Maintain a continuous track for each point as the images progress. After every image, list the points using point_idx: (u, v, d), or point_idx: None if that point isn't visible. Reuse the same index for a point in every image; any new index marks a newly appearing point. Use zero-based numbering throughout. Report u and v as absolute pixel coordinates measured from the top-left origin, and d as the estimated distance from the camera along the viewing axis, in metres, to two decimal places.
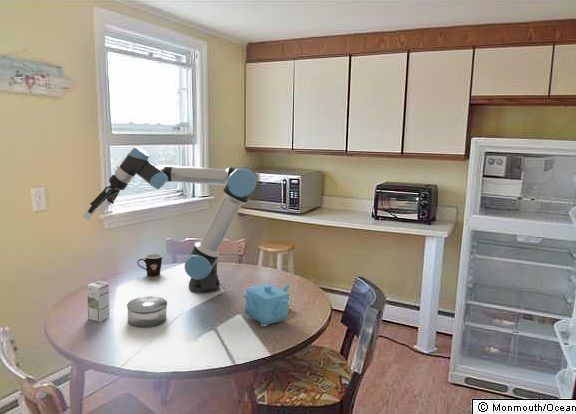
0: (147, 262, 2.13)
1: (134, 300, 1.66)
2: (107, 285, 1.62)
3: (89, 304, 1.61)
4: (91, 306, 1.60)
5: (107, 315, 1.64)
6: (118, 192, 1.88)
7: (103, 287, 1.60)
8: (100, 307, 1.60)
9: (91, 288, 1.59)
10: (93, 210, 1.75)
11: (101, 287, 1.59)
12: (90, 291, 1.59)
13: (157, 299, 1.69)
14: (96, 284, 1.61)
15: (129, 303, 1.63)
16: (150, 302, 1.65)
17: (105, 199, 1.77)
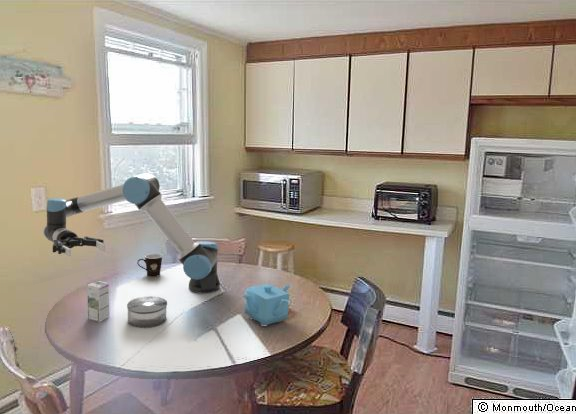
0: (147, 262, 2.13)
1: (134, 300, 1.66)
2: (107, 285, 1.62)
3: (89, 304, 1.61)
4: (91, 306, 1.60)
5: (107, 315, 1.64)
6: (89, 238, 1.79)
7: (103, 287, 1.60)
8: (100, 307, 1.60)
9: (91, 288, 1.59)
10: (62, 248, 1.63)
11: (101, 287, 1.59)
12: (90, 291, 1.59)
13: (157, 299, 1.69)
14: (96, 284, 1.61)
15: (129, 303, 1.63)
16: (150, 302, 1.65)
17: (64, 242, 1.69)
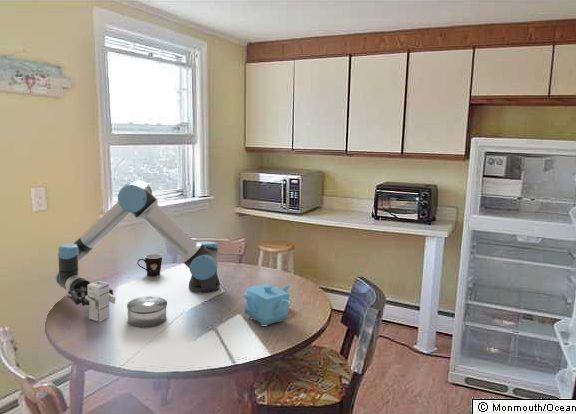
0: (147, 262, 2.13)
1: (134, 300, 1.66)
2: (107, 285, 1.62)
3: None
4: None
5: (107, 315, 1.64)
6: None
7: (103, 287, 1.60)
8: (100, 307, 1.60)
9: (91, 288, 1.59)
10: (86, 300, 1.59)
11: (101, 287, 1.59)
12: (90, 291, 1.60)
13: (157, 299, 1.69)
14: (96, 284, 1.61)
15: (129, 303, 1.63)
16: (150, 302, 1.65)
17: (82, 293, 1.64)
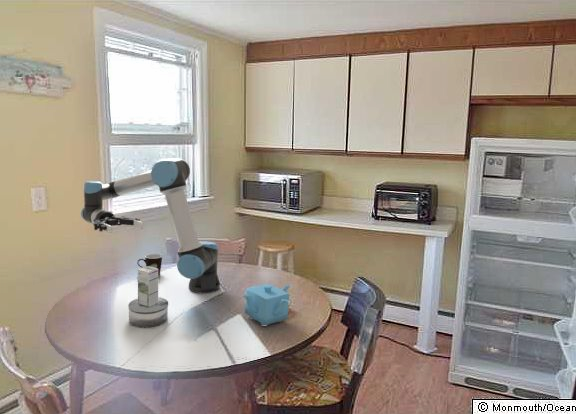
0: (147, 262, 2.13)
1: (135, 300, 1.66)
2: (156, 270, 1.62)
3: (139, 289, 1.61)
4: (141, 290, 1.61)
5: (156, 300, 1.65)
6: (126, 217, 1.86)
7: (152, 272, 1.60)
8: (149, 292, 1.60)
9: (141, 273, 1.60)
10: (104, 225, 1.70)
11: (151, 272, 1.60)
12: (140, 276, 1.60)
13: (158, 299, 1.69)
14: (146, 269, 1.61)
15: (130, 303, 1.63)
16: None
17: (104, 221, 1.76)
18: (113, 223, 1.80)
